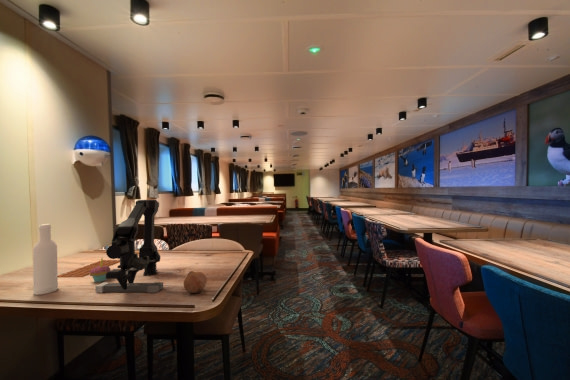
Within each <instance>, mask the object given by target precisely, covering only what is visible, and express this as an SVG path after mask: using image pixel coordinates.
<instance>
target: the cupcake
mask: <svg viewBox="0 0 570 380" xmlns="http://www.w3.org/2000/svg"><path fill="white" fill-rule="evenodd" d="M103 260H104V259H103V257H101V259H100V261H101V266H98V267H95V268H93V269H92V270H91V271H90V272H89V276H90V277H92V279H93V281H94V283H100V282H102V283H103V282H104V281H105V282H106V281H107V279H106V273H107V272H108V271H111V270H112V269H111V268H110V267H111V266H109V267H108V266H102V263H103Z"/></svg>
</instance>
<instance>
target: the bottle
mask: <svg viewBox="0 0 570 380" xmlns="http://www.w3.org/2000/svg"><path fill="white" fill-rule="evenodd" d="M38 226H39V227H38V231H39V233H38V234H39V236H38V237H39V240H38V241H37V242H36V243H34V245H33V248H32V275H33V276H32V281H33V285H32V290H33V295H35V296H39V295H45V294H49V293H53V292H55V291H57V290H58V287H59V285H58V284H59V281H58V278H59V277H58V245H57V243H56V241H54V240H53V239H52V238H51V237H52V234H51V231H52V230H51V229H52V226H51V223H44V224H39V225H38Z"/></svg>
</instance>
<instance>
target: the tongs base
mask: <svg viewBox="0 0 570 380" xmlns="http://www.w3.org/2000/svg"><path fill="white" fill-rule="evenodd" d="M109 283H111V282H110V281H109V282H107V281H105V282H104V281H102V283H100V284H97V285H95V287H94V288H95V291H94V292H95V293H96V294H97V293H99V294H100V293H101V294H102V293H105V292H107V293H111V292H113V293H115V292H116V293H118V292H119V293H120V292H121V293H131V292H133V293H135V292H136V293H137V292H138V293H144V292H146V293H151V294H152V293H156V294H157V293H158V292H160V291H161V290H160V284H127V289H126V290H124V289H123V288H122V286H121V285H120V284H109Z"/></svg>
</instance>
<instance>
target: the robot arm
mask: <svg viewBox="0 0 570 380" xmlns="http://www.w3.org/2000/svg"><path fill="white" fill-rule="evenodd" d="M159 207H160V201H158V199H138V200H136V201H135V204H134V207H133V208H132V210H131V212H130V213H129V215H128V217H127V219H125V220H123V221H121V222H120V223H119V225H118V226H117V228H116V230H115V232H114V234H113V237H112V240H111V245H109V246H108V247H107V248H106V251H105V253H106V257H108V259H110V260H120V262H119V265H117V268H113V269H110V270H111V271H108V272H107V273H106V280H116V281H117V283H120V285H121V286H122V288H123V289H124V290H126V289H127V283H135V279H136V276H137V274H138V273H139V271H143V270H144V271H143V277H145V276H150V275H151V276H152V275H157V274H158V269H157V263H159V262H161V255H160V253H159V252H158V246H157V245H156V244H155V219H156V218H155V216H156V214H158V212H159ZM142 217H143V218H144V220H143V226H144V227H143V243H142V245H141V247H139V250H138V253H136V246H135V245H136V244H135V243H136V242H135V241H137V238H136V237H137V235H138V233H139V225H138V224H139V223H140V221H141V219H142Z"/></svg>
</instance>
